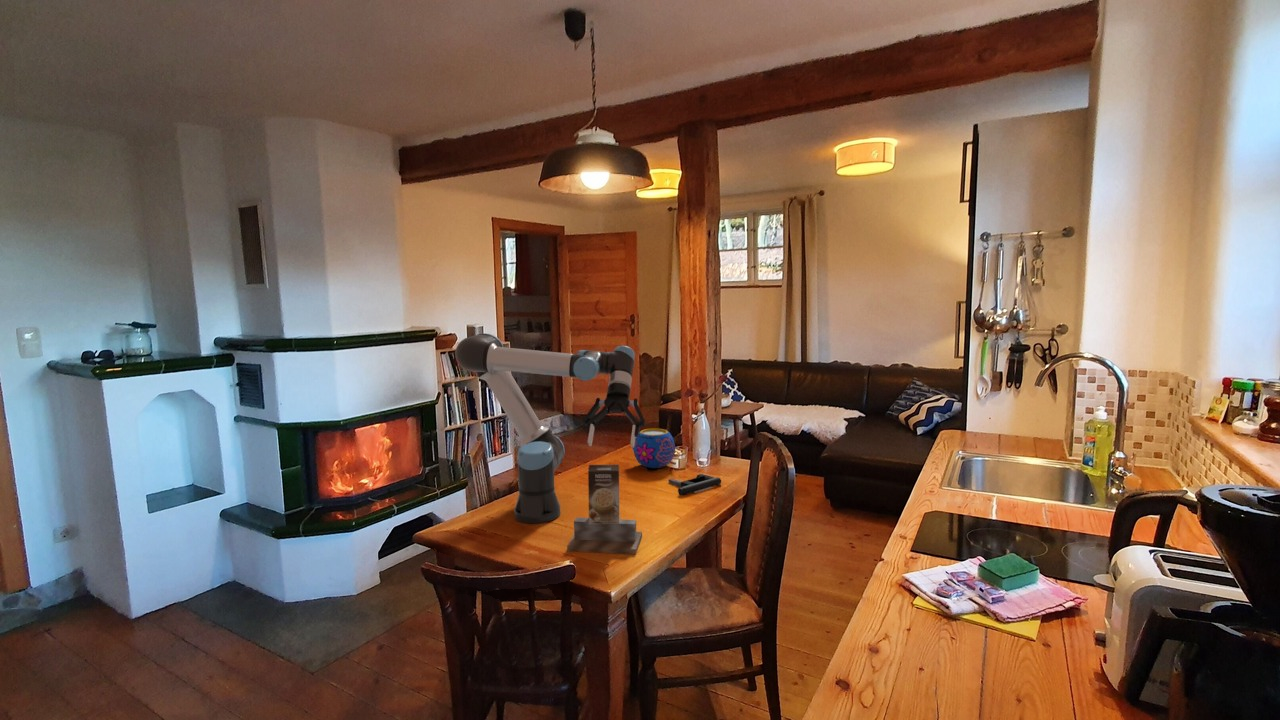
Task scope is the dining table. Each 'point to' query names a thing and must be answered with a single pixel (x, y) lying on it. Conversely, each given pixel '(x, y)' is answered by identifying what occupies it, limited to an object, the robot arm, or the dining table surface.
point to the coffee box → (603, 494)
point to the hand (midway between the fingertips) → (610, 444)
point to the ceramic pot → (654, 448)
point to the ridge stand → (605, 537)
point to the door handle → (696, 484)
